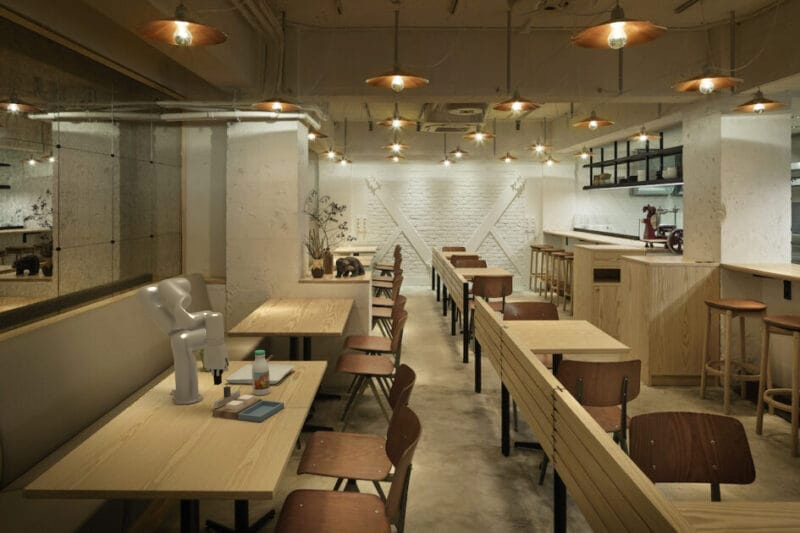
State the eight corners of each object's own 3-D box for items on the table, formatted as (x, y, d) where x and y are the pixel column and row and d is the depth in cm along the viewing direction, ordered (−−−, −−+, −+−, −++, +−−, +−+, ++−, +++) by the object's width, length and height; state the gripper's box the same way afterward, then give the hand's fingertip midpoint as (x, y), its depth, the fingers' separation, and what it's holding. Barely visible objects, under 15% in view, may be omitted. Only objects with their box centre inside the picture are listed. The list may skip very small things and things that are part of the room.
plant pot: (217, 366, 325) (216, 345, 324) (226, 370, 316) (225, 349, 315) (195, 370, 317) (194, 349, 316) (204, 374, 308) (203, 353, 307)
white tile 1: (226, 408, 246) (226, 404, 246) (233, 405, 251) (233, 400, 250) (236, 410, 244) (236, 405, 244) (243, 406, 249) (243, 401, 249)
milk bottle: (249, 394, 274) (247, 352, 272) (259, 390, 281) (257, 348, 279) (263, 396, 271) (261, 353, 269) (273, 391, 278) (271, 349, 276)
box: (237, 419, 241) (237, 413, 241) (262, 405, 258) (262, 400, 258) (260, 422, 238) (260, 416, 238) (284, 408, 255) (284, 402, 254)
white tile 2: (237, 402, 253) (237, 398, 253) (244, 399, 258) (244, 394, 258) (247, 403, 252) (247, 399, 251) (254, 400, 256) (254, 395, 256)
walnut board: (212, 416, 246) (212, 409, 245) (238, 402, 262) (238, 396, 262) (237, 419, 241) (236, 412, 241) (262, 405, 258) (261, 398, 258)
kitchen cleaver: (260, 355, 345) (277, 354, 344) (261, 357, 345) (277, 356, 344) (246, 367, 321) (264, 366, 320) (246, 369, 321) (264, 368, 320)
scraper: (213, 407, 246) (213, 392, 246) (236, 396, 261) (236, 381, 260) (217, 408, 245) (217, 392, 245) (240, 396, 260) (240, 381, 260)
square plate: (246, 370, 316) (246, 363, 316) (296, 371, 313) (296, 364, 312) (224, 385, 290) (224, 377, 289) (278, 387, 286) (278, 379, 285)
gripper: (194, 343, 251) (197, 385, 253) (224, 344, 246) (227, 387, 248) (206, 339, 258) (209, 380, 260) (235, 340, 253) (238, 382, 255)
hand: (218, 384), depth 254 cm, fingers closed
